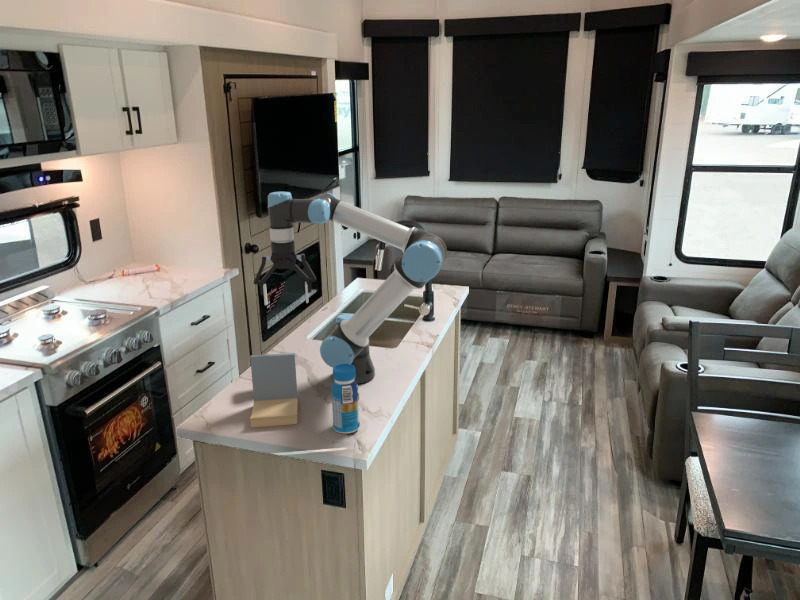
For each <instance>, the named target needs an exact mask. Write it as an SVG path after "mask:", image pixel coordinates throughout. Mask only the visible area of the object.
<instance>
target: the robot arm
mask: <svg viewBox="0 0 800 600" xmlns="http://www.w3.org/2000/svg"><path fill="white" fill-rule="evenodd" d="M267 210H268V221H269V235H270V241H271V242H270V249H271V250H270V251H271V252H270V253H271V255H266V254H263V255H262V256H261V264H260V266H259V269H258V271H257V273H256V276H255V278H254V280H253V284H254V285H258V286H259V291H260V292H259V293H260V295H261V296H263V300H264V306H268V293H267V283H266V282H267V281H268V280H269V278H270V277H271V276H272V274H273V273H274V272H275V271H276V269H279V270H283V269H285V270H289V269H292V270H294V272H296V273H297V274H298V275H299V276H300V278H302V279H303V281H305V282H304V287H305V303H306V304H308V303H309V293H312V283H314V282H316V281H317V277H316V275H315V273H314V272H313V270H312V269H311V266H310V264H309V263H308V261H307V260H306V255H305V253H303V252H302V253H301V254H296V246H295V245H296V244H295V241H294V239H295V234H294V233H295V232H294V223H295V224H296V223H297V224H299V223H300V224H314V225H319V224H326V223H328V221H330V222H333V223H335V224H338V225H340V226H343V227H346V228H348V229H350V230H353V231H355V232H357V233H360V234H362V235H365V236H367V237H370V238H372V239H374V240H377V241H380V242H383V243H385V244H387V245H389V246H392V247H394V248H396V249H399V250H401V251H402V254H401V255H400V256H399V258H398V259H397V260H396V261H395V262H394V264H393V269H394V270H393V272H392V273H391V274H390V275H389V276H387V278H386V279H385V280H384V281H383V282H382V283H381V284H380V286H379V287H378V288H377V289H376V290H375V291H374V292H373V293H372V294H371V295H370V297H369V298H368V299H367V300H366V301H364V303H363V304H362V305H361V306H360V307H359V308H358V309H357V310H356V312H355V313H345V314H340V315H338V316H336V317H335V321H334V322H335V328H334V329H333V330H332V331H331V332H330V333H329V334H328V335H327V337H325V338H324V339H323V340H322V341H321V342H322V343H321V344H320V346H319V352H320V357H321V360H323V362H324V363H325V364H326V365H327V366H329V367H330V368H332V369H333V368H334V366H336V365H339V364H351V365H353V366H354V367H355V371H356V377H355V379H354V380H355V381H356V382H357V384H364V383H367V382H369V381H371V380H373V379H374V378H375V375H376V371H375V365H374V363H373V360H372V359H371V356H370V355H371V354H370V337H371V335H372V334H374V332H375V331H376V330H377V329H378V328H379V327H380V326H381V325H382V324H383V323H384V321H385V320H386V319H387V318H388V317H389V316H390V315H391V314H392V313H393V312H394V311H395V310H396V309H397V308H398V307H399V306H400V304H401V303H403V302H404V301H405V300H406V299H407V298H408V296H409V295H410V294H411V293H412V292H413V291H414V290H421V289H422V288H423V287H424V286H426V284H427V283H429V281H431V280H432V279H434V278H435V277H436V276H437V275H438V274H439V272H440V271H441V268H442V267H443V265H444V263H445V261H446V259H447V255H448V249H447V246H446V243H445V241H444V240H443V239H442V238H441V237H440V236H438V235H436V234H435V233H431V232H429V231H426V230H423V229H421V228H418V227H416V226H412V227H408V226H406V225H403V224H400V223H398V222H395V221H392V220H391V219H387V218H384V217H383V216H381V215H378V214H376V213H372V212H370V211H367V210H365V209H362V208H360V207H358V206H355V205H353V204H350V203H348V202H345V201H343V200H340V199H338V198H337V197H336V196H335V194H332V193H330V192H325V193H323V192H322V193H320V194H317V195H315V196H313V197H309V198H299V199H297V198H293V197H292V193H291V192H290V191H273V192H270V193H269V194H268V195H267ZM297 260H298V261H299V262H301V263H302V266H303V267H304V268H305V270H306V273H307V274H308V275H309V276H308V275H307V274H306V273H305V272H304V271H303V270H302V269H301V268H300V267H299V265H298V264H296V261H297ZM270 261H271V262H272V263H273V264H272V266H271V267H270V268H269V270H267V272H266V273H265V274H264V276H263V277H262V278H261V276H262V274H263V271H264V269H265V267H266V264H267V263H269V262H270ZM260 278H261V279H260Z"/></svg>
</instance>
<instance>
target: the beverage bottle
mask: <svg viewBox="0 0 800 600" xmlns="http://www.w3.org/2000/svg"><path fill="white" fill-rule="evenodd" d="M355 377H356V371H355V367H354V366H353V365H351V364H339V365H336V366H334V368H332V378H333V380H334V381H333V382H332V385H331V387H330V390H331V395H330V399H331V406H332V407H331V410H332V428H333V430H334V431H335V432H336V433H339V434H342V435H343V434H345V435H346V434H351V433H355V432H356V431H358V430H359V429H360V427H361V424H360V408H359V407H360V405H359V404H360V403H359V402H360V401H359V400H360V393H359V389H360V388H359V385H358V384H357V382H356V381H355V380H354V379H355Z"/></svg>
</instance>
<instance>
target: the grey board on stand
mask: <svg viewBox="0 0 800 600" xmlns="http://www.w3.org/2000/svg"><path fill="white" fill-rule="evenodd" d="M265 354H266V355H265ZM265 354H255V355H254V354H252V355H251V354H250V357H249V359H250V369H251V370H250V372H251V383H252V393H253V406H252V410H251V416H249V420H250V428H252V429H253V428H264V427H277V426H290V425H298V414H299V413H298V411H299V410H298V409H299V407H298V406H299V399H298V398H299V397H298V383H297V382H298V381H297V380H298V379H297V365H296V352H284V353H282V352H281V353H265Z"/></svg>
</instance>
